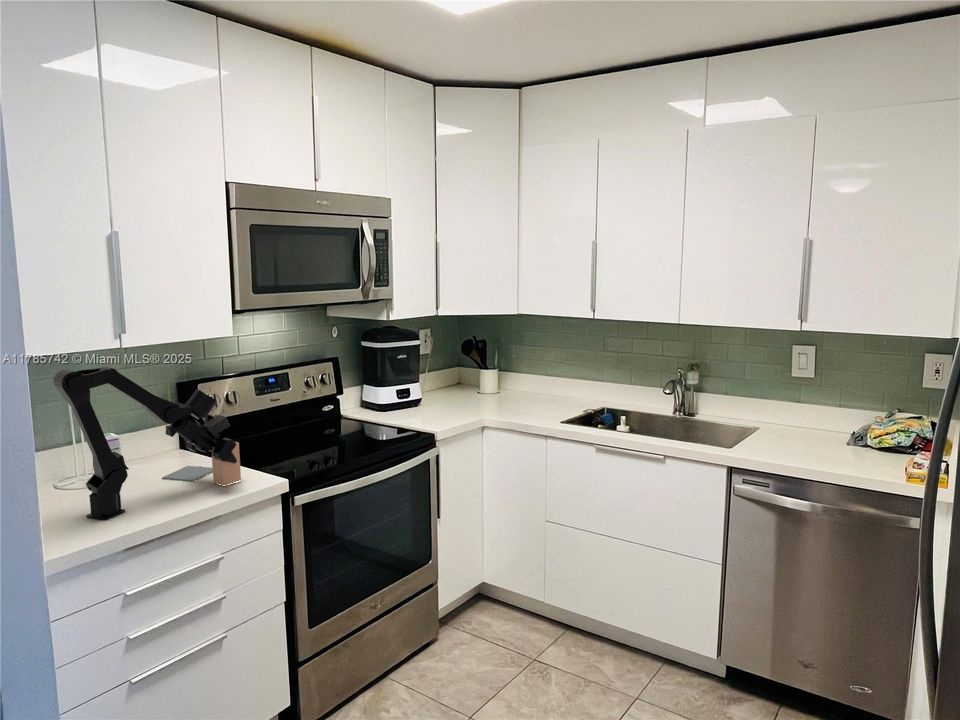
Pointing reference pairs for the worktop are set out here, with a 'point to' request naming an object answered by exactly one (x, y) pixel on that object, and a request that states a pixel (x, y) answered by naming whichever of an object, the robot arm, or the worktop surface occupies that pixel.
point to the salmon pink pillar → (227, 469)
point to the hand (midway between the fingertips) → (230, 460)
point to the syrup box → (113, 442)
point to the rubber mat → (189, 473)
